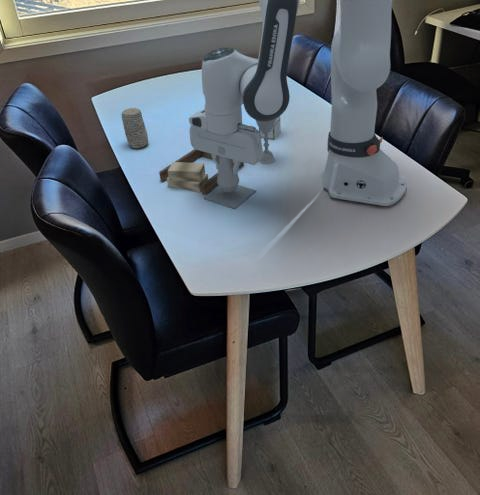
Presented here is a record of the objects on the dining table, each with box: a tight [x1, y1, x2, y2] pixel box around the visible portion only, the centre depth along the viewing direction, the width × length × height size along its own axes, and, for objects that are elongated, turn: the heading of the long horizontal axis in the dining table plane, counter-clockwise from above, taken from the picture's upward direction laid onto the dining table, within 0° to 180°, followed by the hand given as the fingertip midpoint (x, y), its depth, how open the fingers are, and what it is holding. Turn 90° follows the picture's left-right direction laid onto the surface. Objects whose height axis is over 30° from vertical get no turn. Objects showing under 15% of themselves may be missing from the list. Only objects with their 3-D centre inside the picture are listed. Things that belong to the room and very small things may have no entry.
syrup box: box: [258, 115, 282, 140], centre depth 154 cm, size 6×6×14 cm
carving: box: [121, 107, 149, 149], centre depth 154 cm, size 6×8×12 cm
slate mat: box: [203, 184, 257, 210], centre depth 130 cm, size 10×10×1 cm
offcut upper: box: [168, 161, 206, 182], centre depth 133 cm, size 9×5×3 cm, turn 80°
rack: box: [158, 148, 245, 196], centre depth 138 cm, size 16×19×8 cm
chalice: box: [255, 119, 276, 165], centre depth 139 cm, size 7×7×18 cm
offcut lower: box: [166, 173, 209, 193], centre depth 135 cm, size 10×6×3 cm, turn 68°
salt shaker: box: [217, 147, 240, 192], centre depth 124 cm, size 6×6×13 cm
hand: (227, 170), depth 125 cm, fingers closed on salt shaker, 3 cm apart
